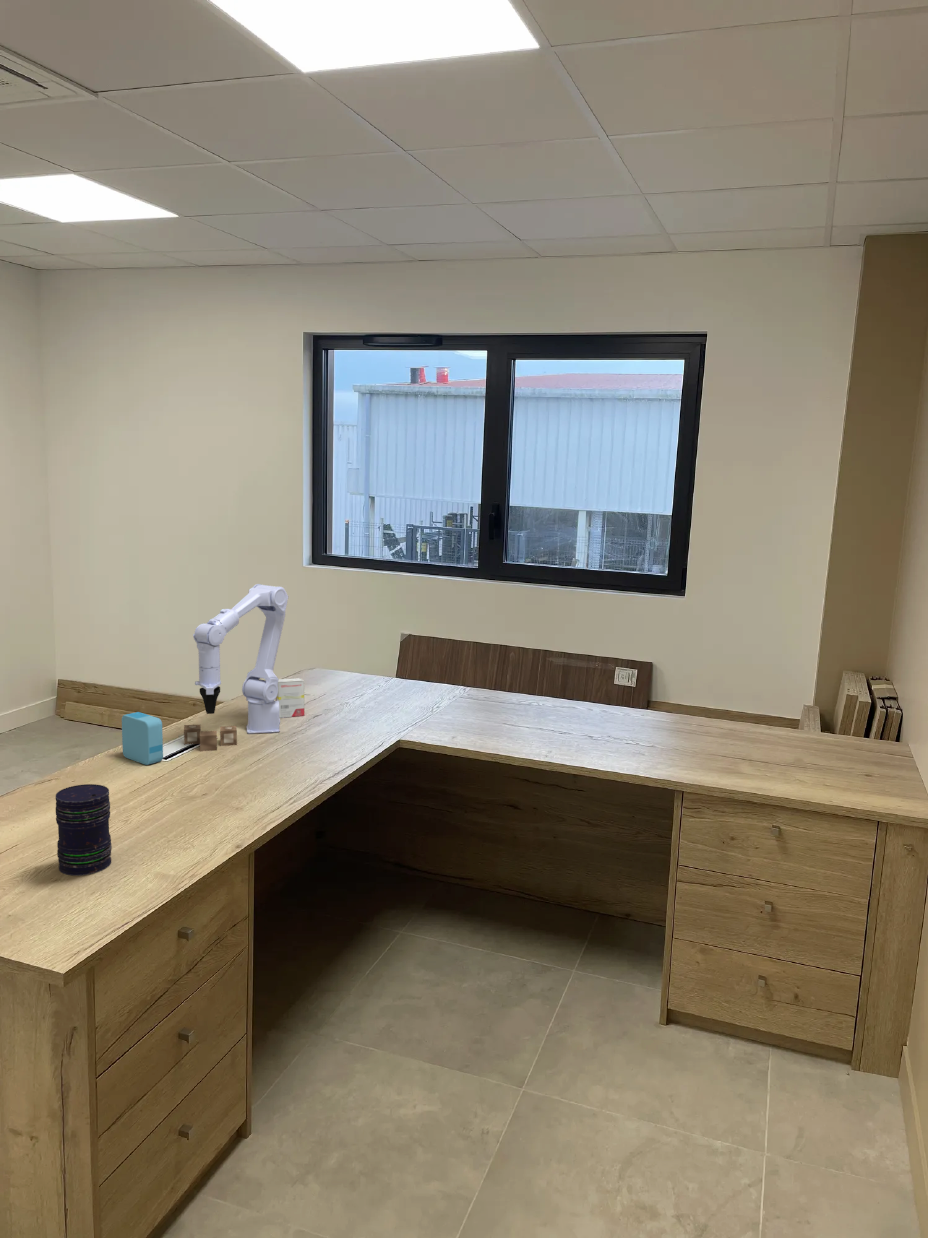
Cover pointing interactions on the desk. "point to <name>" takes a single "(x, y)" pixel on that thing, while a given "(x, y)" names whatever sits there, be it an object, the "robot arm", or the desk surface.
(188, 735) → the marked block 1
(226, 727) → the marked block 2
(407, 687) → the desk surface
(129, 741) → the data package
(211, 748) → the plain block
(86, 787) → the dark blue barrel
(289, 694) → the ink box
